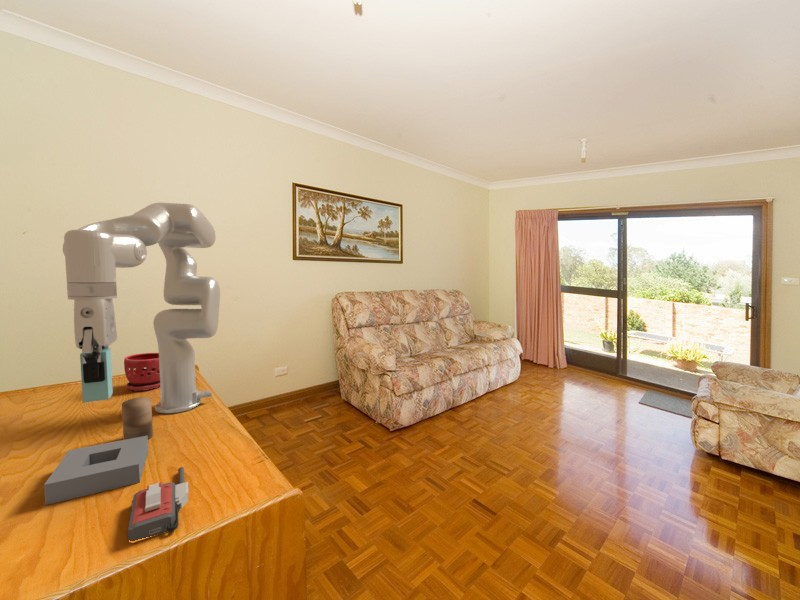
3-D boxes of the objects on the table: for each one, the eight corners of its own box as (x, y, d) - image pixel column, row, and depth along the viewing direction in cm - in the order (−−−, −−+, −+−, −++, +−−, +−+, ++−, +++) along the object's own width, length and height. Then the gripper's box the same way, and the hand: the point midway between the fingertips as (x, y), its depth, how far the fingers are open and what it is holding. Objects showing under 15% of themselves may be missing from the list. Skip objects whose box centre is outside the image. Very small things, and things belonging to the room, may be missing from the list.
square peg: (112, 393, 74) (110, 348, 73) (108, 399, 70) (106, 352, 70) (88, 396, 72) (85, 350, 71) (82, 402, 68) (80, 354, 67)
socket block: (148, 451, 82) (147, 435, 82) (139, 482, 70) (138, 463, 70) (70, 467, 75) (69, 450, 74) (45, 505, 63) (44, 484, 62)
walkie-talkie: (191, 530, 58) (187, 472, 74) (190, 506, 57) (186, 453, 74) (125, 553, 53) (136, 486, 70) (124, 527, 53) (135, 465, 69)
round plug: (154, 431, 92) (152, 395, 91) (151, 440, 87) (149, 403, 86) (126, 436, 89) (124, 399, 88) (121, 446, 84) (119, 407, 83)
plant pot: (145, 394, 119) (143, 361, 118) (116, 391, 122) (114, 358, 121) (177, 383, 132) (176, 352, 131) (150, 380, 135) (149, 350, 134)
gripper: (107, 293, 64) (111, 387, 65) (124, 289, 78) (127, 366, 80) (52, 294, 60) (58, 394, 62) (80, 289, 75) (85, 371, 76)
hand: (97, 377), depth 71 cm, fingers closed on square peg, 4 cm apart
